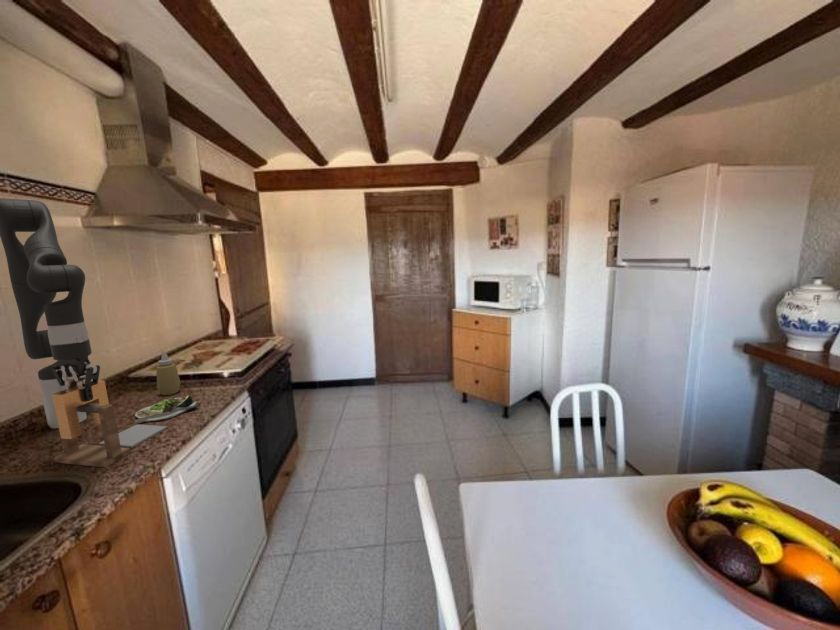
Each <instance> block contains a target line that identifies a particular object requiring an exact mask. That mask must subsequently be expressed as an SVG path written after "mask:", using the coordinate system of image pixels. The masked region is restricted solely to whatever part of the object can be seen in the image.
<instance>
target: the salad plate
mask: <svg viewBox="0 0 840 630" xmlns="http://www.w3.org/2000/svg"><path fill="white" fill-rule="evenodd" d="M198 406H199V404H198V402H197V401H196V400H193V399H192V396H191V395H190V394H188V395H186V396H185V397H174V398H173V397H172V398H171V397H170V398H167V399H163V400H160V401H159V402H157V403H155V404H152V405H150V406H147V407H143V408H141V409H140V410H138V411H136V412H135V414H134V417H136V418H137V419H135V420H134V422H135V423H140V422H156V421H163V420H167V419H168V420H169V419H172V418H174V417H177V416H179V415H182V414H184V413H187V412H189V411H191V410H193V409H194V408H196V407H198Z"/></svg>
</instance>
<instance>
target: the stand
mask: <svg viewBox="0 0 840 630" xmlns="http://www.w3.org/2000/svg"><path fill="white" fill-rule="evenodd" d="M54 409H55V407H54ZM76 409H77V412H86V413H89V414H90V413H91V414H92V413H99V418H100V423H101V425H100V427H101V432H102V438H103V441H104V443H105V445H99V444H98V445H94V444H84V443H83V444H80V445H79V441H78V437H76V438H73V439H64V438H61V435H60V434H59V435H60V436H59V437H60V440H61V445H62V449H63V453H61V454H58V455H57V456H55V457H54V462H55V463H57V462H58V464H59V463H60V464H69V465H76V466H77V465H79V466H80V465H81V466H88V467H89V466H90V467H98V468H107V467H109V466H111V465H113V464H115V463H116V462H118V461H119V460H121V459H122V458H125V457H126V456H128V455H130V454H131V453H132V452H131V448H129V447H121V445H120V440H119V435H118V433H119V431H118V425H117V419H116V415H115V408H114V405H113V404H110V403H109V404H107V405H104V406H98V405H90V404H84V405H80V406H78V407H76ZM55 413H56V412H55ZM56 418H57V416H56ZM57 423H58V421H57ZM58 427H59V426H58ZM58 432H59V433H60V430H59V429H58ZM110 464H111V465H110Z"/></svg>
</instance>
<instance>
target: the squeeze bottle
mask: <svg viewBox="0 0 840 630" xmlns="http://www.w3.org/2000/svg"><path fill="white" fill-rule="evenodd" d="M160 358H161V359H160V360H158V361H157V362H158V365H157V367H156V370H155V371H156V388H157V389H158V391H159V393H160V395H162V396H170V395H173V394H174V395H175V394H176V393H177V394H178V393H179V391H180V387H181V380H180V375H179V372H178V369H177V365H176V363H173V359H172V358H169V357H168V354H167V352H166V351H162V352H161V357H160Z"/></svg>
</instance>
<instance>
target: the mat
mask: <svg viewBox="0 0 840 630" xmlns="http://www.w3.org/2000/svg"><path fill="white" fill-rule="evenodd" d="M167 429H168V426H164V425H150V424H134V425H132V426H131V427H129V428H127V429H124V430H123V431H120V432H118V435H119V440H120V445H121V448H130V449H131V448H134V447H136V446H138V445H139V444H141V443H143V442H145V441H146V440H149V439H151V438H153V437H154V436H156V435H157V434H159V433H161V432H164V431H165V430H167ZM98 446H105V443H104V440H102V441H101V442H99V443H98Z"/></svg>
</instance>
